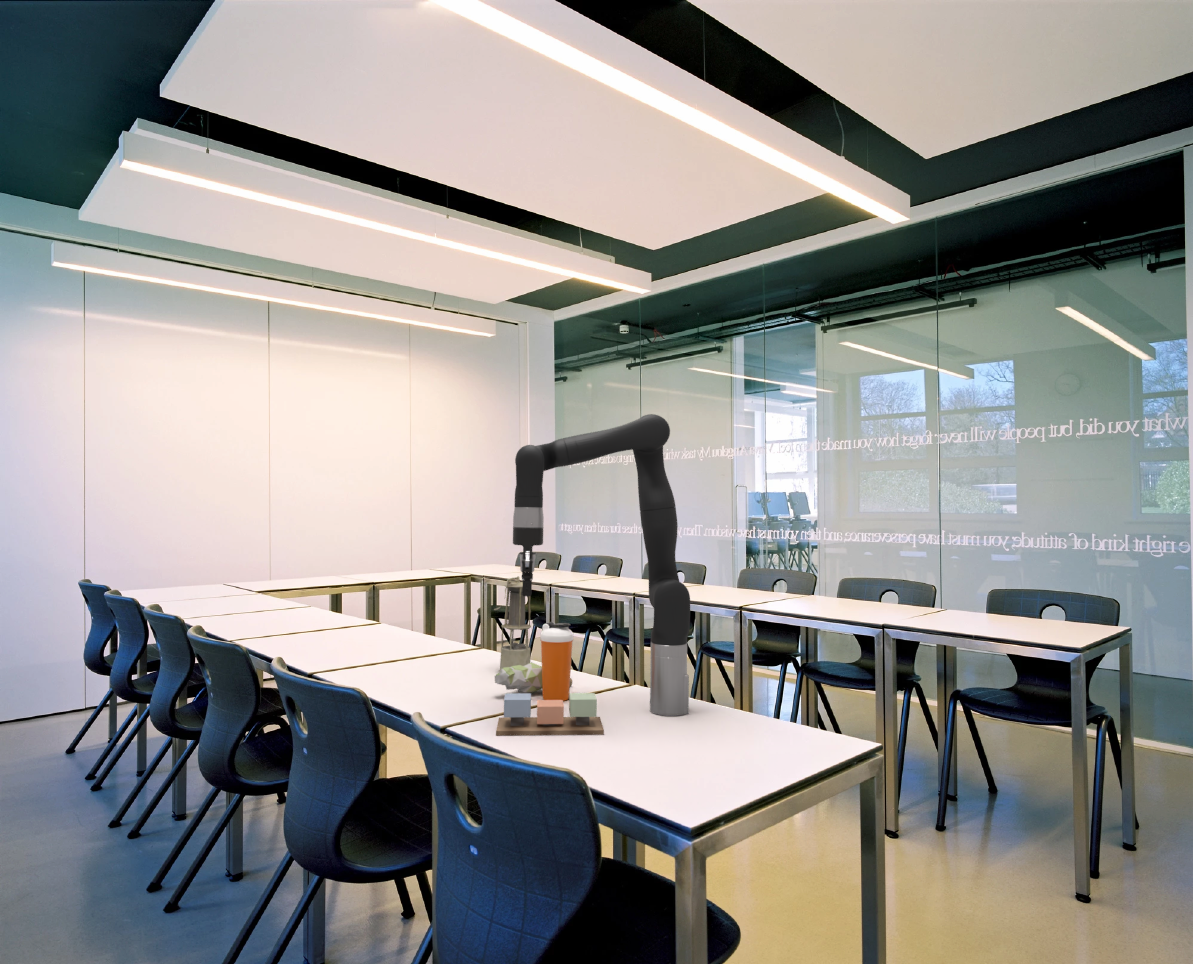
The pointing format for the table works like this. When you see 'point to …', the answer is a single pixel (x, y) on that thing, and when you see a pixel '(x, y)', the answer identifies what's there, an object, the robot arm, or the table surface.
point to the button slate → (517, 705)
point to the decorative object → (521, 678)
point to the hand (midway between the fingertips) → (526, 595)
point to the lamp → (515, 626)
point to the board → (549, 726)
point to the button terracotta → (550, 712)
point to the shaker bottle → (556, 660)
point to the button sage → (582, 705)
